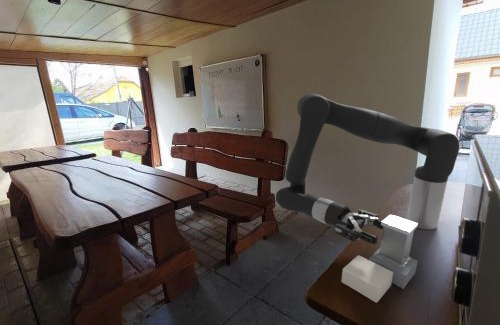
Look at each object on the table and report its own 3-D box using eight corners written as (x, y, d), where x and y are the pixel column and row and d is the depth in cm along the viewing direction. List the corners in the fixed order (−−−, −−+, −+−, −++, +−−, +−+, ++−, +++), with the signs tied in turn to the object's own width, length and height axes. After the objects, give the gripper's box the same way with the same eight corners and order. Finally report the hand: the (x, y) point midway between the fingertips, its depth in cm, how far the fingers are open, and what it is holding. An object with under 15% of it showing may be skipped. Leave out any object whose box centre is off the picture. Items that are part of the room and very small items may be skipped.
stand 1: (356, 267, 72) (358, 255, 71) (391, 285, 65) (393, 272, 64) (341, 281, 67) (342, 268, 66) (376, 303, 60) (378, 289, 59)
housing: (385, 249, 73) (390, 214, 69) (410, 260, 68) (417, 223, 65) (376, 257, 69) (381, 221, 66) (402, 270, 65) (409, 232, 61)
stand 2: (380, 257, 76) (382, 245, 74) (415, 273, 69) (417, 260, 68) (367, 270, 71) (369, 257, 70) (403, 288, 64) (406, 275, 63)
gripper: (317, 209, 75) (373, 232, 64) (343, 195, 84) (397, 212, 72) (316, 232, 78) (369, 258, 66) (341, 215, 87) (393, 236, 75)
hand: (383, 234), depth 69 cm, fingers open, 8 cm apart
